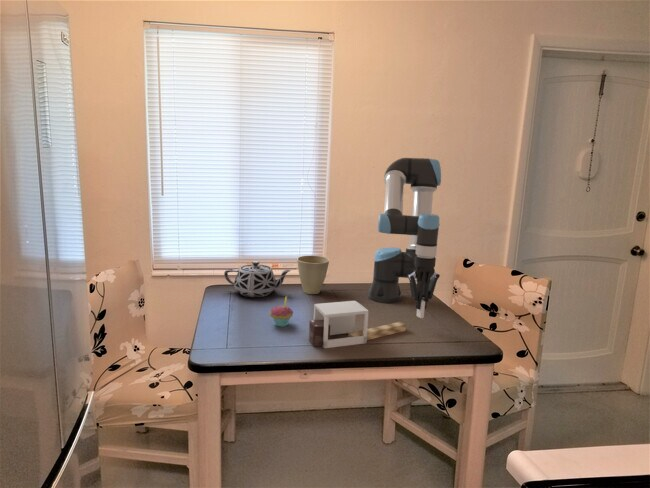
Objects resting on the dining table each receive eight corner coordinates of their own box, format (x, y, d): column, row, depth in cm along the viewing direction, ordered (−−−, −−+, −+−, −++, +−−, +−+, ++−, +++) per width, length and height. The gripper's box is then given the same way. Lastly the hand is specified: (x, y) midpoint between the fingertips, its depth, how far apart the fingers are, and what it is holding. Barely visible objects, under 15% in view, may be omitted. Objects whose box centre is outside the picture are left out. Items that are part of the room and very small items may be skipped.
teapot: (288, 301, 199) (289, 268, 196) (218, 298, 200) (218, 265, 197) (292, 289, 218) (293, 258, 215) (229, 285, 218) (229, 255, 215)
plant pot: (289, 292, 212) (290, 259, 209) (308, 285, 224) (309, 253, 221) (315, 299, 204) (316, 264, 201) (333, 291, 216) (335, 259, 213)
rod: (399, 328, 175) (400, 321, 175) (405, 331, 173) (406, 324, 172) (347, 341, 162) (348, 333, 161) (352, 344, 159) (353, 336, 158)
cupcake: (295, 322, 176) (296, 292, 173) (286, 330, 168) (287, 299, 166) (275, 318, 179) (276, 289, 176) (265, 326, 171) (266, 295, 168)
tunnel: (353, 331, 170) (355, 300, 167) (366, 343, 160) (368, 310, 157) (312, 335, 164) (314, 304, 161) (323, 348, 154) (325, 314, 151)
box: (329, 345, 156) (330, 325, 155) (312, 347, 155) (313, 326, 153) (324, 338, 162) (325, 319, 161) (308, 339, 160) (309, 320, 159)
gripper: (434, 253, 174) (428, 312, 178) (404, 254, 169) (399, 315, 173) (446, 257, 167) (440, 318, 171) (416, 258, 162) (410, 321, 167)
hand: (420, 316), depth 172 cm, fingers closed
